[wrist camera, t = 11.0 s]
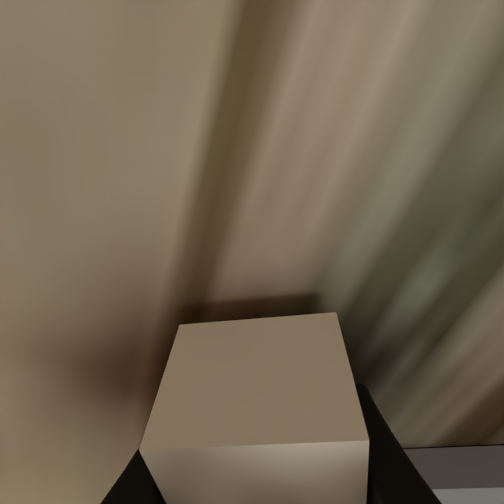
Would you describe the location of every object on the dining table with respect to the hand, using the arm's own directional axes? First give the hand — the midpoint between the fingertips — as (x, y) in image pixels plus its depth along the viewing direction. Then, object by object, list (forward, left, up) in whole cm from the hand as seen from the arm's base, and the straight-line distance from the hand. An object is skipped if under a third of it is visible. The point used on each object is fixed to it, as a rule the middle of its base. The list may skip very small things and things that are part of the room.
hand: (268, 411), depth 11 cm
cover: (0, +1, -1) cm, 1 cm away
